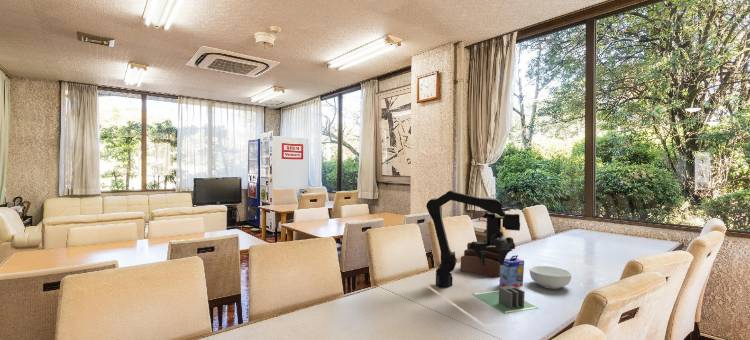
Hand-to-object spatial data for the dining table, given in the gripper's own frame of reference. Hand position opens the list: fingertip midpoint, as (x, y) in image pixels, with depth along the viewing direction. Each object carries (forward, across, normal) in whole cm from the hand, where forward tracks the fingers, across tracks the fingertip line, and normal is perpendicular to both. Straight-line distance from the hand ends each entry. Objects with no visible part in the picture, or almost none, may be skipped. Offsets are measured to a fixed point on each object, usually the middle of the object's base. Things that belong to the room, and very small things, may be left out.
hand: (492, 265), depth 147 cm
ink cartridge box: (+12, +14, +4) cm, 19 cm away
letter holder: (+12, +14, +26) cm, 32 cm away
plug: (+11, -2, -14) cm, 18 cm away
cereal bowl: (+12, +32, +1) cm, 34 cm away
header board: (+12, -2, -10) cm, 15 cm away
